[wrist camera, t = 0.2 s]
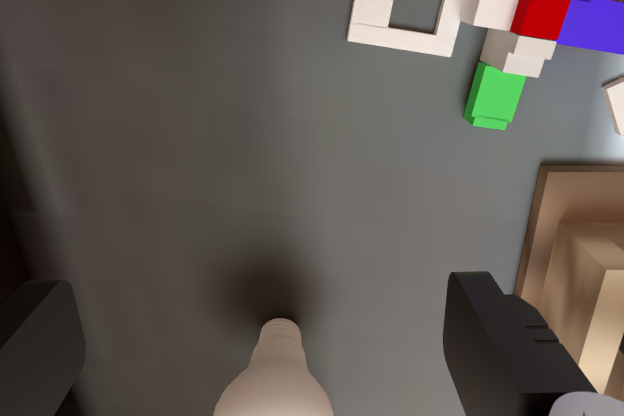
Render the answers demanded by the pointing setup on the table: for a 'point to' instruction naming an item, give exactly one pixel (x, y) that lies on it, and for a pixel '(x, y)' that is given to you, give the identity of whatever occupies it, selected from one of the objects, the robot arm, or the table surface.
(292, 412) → the lightbulb
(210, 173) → the table surface
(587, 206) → the walnut post stand
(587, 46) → the building block set
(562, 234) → the open wooden box
